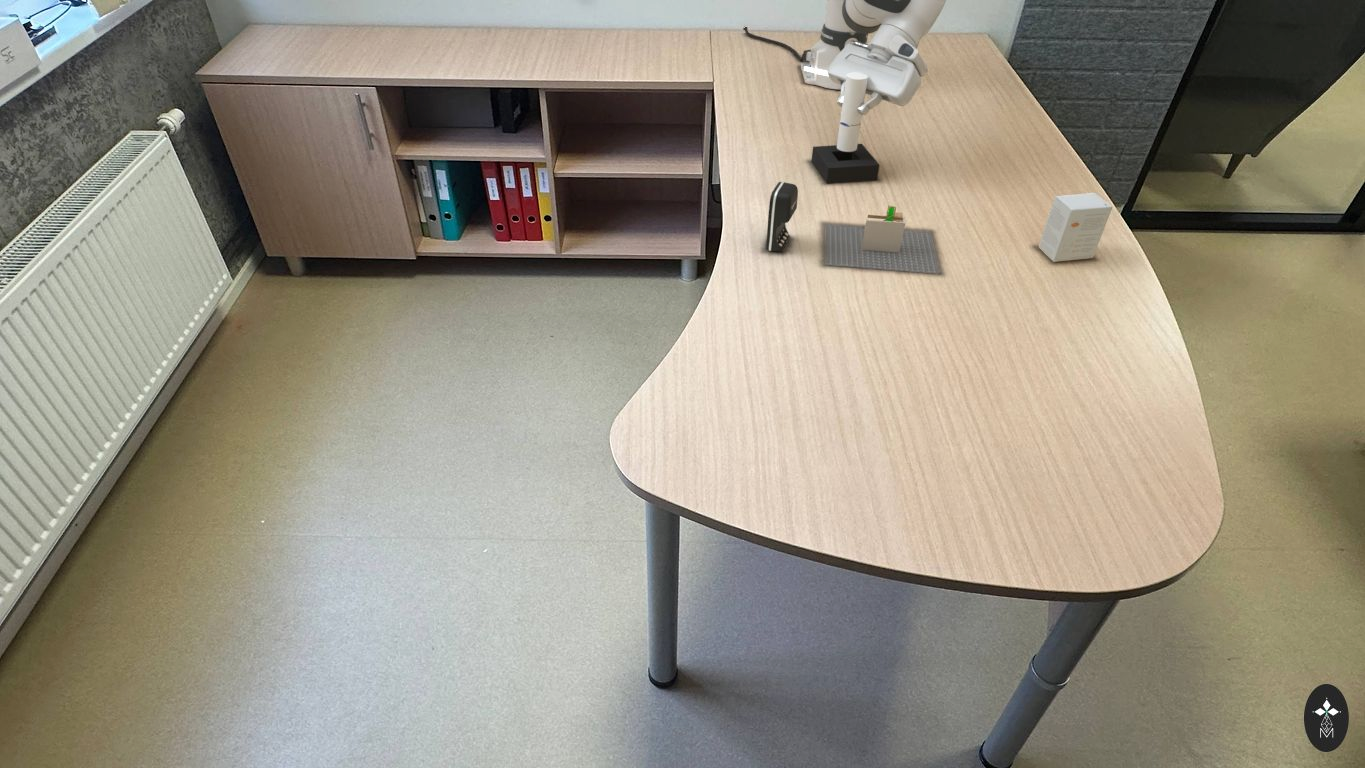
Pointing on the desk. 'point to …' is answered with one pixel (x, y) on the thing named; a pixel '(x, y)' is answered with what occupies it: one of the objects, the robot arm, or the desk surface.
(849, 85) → the tube
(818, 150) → the socket pad
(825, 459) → the desk surface
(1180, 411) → the desk surface
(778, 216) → the black plastic handset
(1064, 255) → the small box
